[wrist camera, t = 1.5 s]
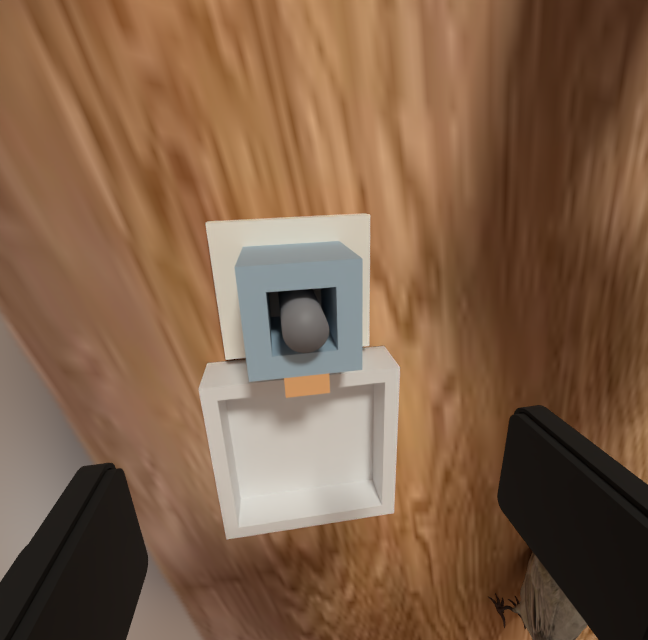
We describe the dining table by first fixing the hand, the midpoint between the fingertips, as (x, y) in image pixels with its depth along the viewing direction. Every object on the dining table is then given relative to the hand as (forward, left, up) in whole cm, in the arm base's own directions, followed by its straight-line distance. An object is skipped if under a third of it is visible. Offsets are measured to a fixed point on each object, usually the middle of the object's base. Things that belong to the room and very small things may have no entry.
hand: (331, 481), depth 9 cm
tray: (0, +11, -17) cm, 21 cm away
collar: (0, 0, -16) cm, 16 cm away
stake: (0, 0, -17) cm, 17 cm away
